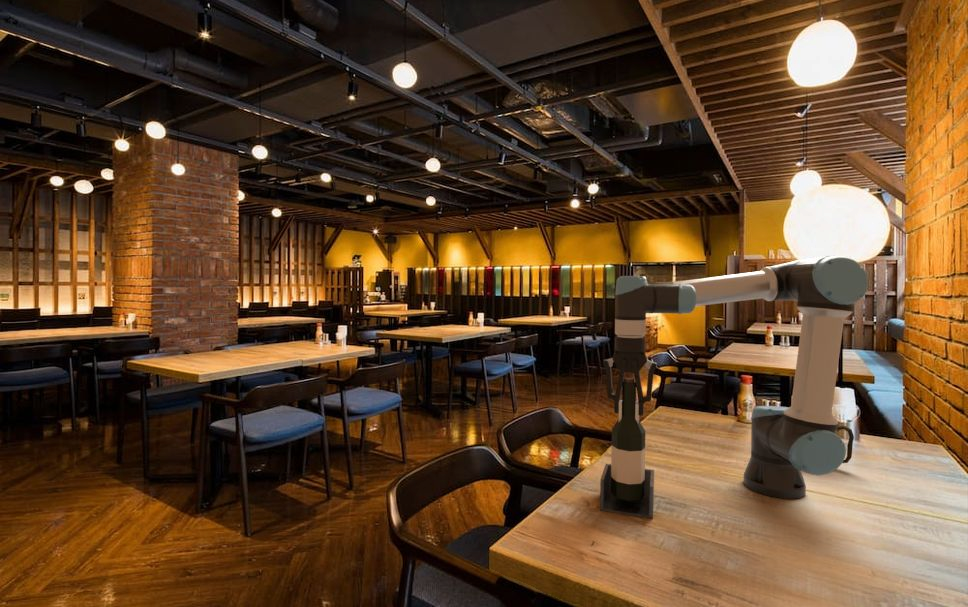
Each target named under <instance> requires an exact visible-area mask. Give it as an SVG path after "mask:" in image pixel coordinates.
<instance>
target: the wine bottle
mask: <svg viewBox="0 0 968 607" xmlns="http://www.w3.org/2000/svg"><path fill="white" fill-rule="evenodd" d="M621 397H622V398H621V400H622V419H621V420H620V421H619V418H618V419H617V420H616V422H615V423H614V425H613V427H612V428H611V455H610V456H611V462H610V464H611V493H612V494H613V495H614V496H615V497H616V498H620V499H624V500H628V501H634V500H641V499H642V498H643V496H644V484H645V469H646V430H645V428H644V426H643V424H642V423H641V421H640V420H639V421H638V423H637V421H636V419H635V403H636V401H637V389H636V383H635V378H634V377H624V380H623V384H622V390H621Z"/></svg>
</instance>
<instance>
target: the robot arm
mask: <svg viewBox="0 0 968 607" xmlns="http://www.w3.org/2000/svg"><path fill="white" fill-rule="evenodd" d="M868 288H869V277H868V274H867V272H866V270H865V268H864V267H863V266H862V265H861V264H860V263H859V261H856V260H855V259H853V258H851V257H848V256H843V255H842V256H839V255H838V256H837V255H827V256H821V257H813V258H802V259H798V260H793V261H790V262H785V263H781V264H776V265H772V266H764V267H762V268H761V269H760V270H759V271H752V272H743V273H736V274H727V275H720V276H718V275H717V276H710V277H704V278H703V277H702V278H695V279H688V280H687V279H686V280H680V281H679V280H678V281H671V282H662V283H655V284H654V283H648V280H647V277H646V276H644V275H621V276H619V277H618V278H617V279H616V284H615V293H614V295H615V319H614V334H615V335H616V336H615V337H614V353H613V356H612V357H611V358H606V359H603V362H602V364H603V367H604V369H605V379H606V380H605V382H606V393H607V394H606V397H607V398H608V399H611V400H612V401H613V402H614V406H613V407H614V409H613V411H614V414H617V415H618V419H619V421H620V420H621V419H622V399H621V396H622V384H623V381H624V378H625V375H626V374H627V373H631V374H633V378H634V382H635V383H636V396H637V400H638V401H637V400H636V403H635V419H636V421H637V423H638V421H640V417H641V416H643V415H644V407H645V406H644V404H645V403H647V402H648V403H649V402H651V400H652V393H653V382H654V374H655V370H656V369H657V366H658V363H657V362H656V361H652V360H649V359H648V357H647V355H646V338H645V337H644V336H645V335H646V334H647V332H646V330H647V328H646V326H647V325H646V324H647V314H678V315H681V314H691V313H692V312H693V311H694V310H695V308H696V307H698V306H699V307H700V306H708V305H709V306H710V305H716V304H727V303H734V302H742V301H744V302H745V301H751V300H759V299H763V300H765V301H766V302H772V301H773V302H775V301H790V302H791V301H792V302H796V309H797V310H798V311H799V312H800V313H801V315H802V319H801V324H800V325H801V326H800V332H799V333H800V335H799V341H798V342H799V343H798V349H797V350H798V351H797V355H796V356H797V357H796V364H795V373H794V380H793V388H792V395H791V396H792V397H791V403H790V404H791V405H790V406H789V407H787V406H778V405H777V406H775V405H758V406H755V407H753V409H752V410H751V418H750V420H751V428H750V429H751V430H750V431H751V432H750V433H751V438H750V439H751V441H750V442H751V443H750V458H749V461H748V462H747V463H748V464H747V466H746V468H745V470H744V472H743V479H742V480H743V484H744V486H745V487H746V488H748V489H750V490H752V491H754V492H756V493H758V494H762V495H765V496H769V497H772V498H780V499H790V500H791V499H800V498H803V497H805V496H806V492H807V489H806V488H807V486H806V482H805V478H804V476H803V473H802V472H804V473H806V474H809V475H814V476H824V475H829V474H831V473H832V472H833V471H835V470H838V469H839V467H840V466H842V464H844V463H843V461H844V460H845V459H846V456H847V448H846V447H847V446H846V444H845V443H844V441H843V440H842V438H841V437H840V436H839V435H838V434H837V432H838V431H837V427H838V426H839V422H838V420H837V419H836V418H835V417H834V416H833V414H832V413H833V407H834V399H835V392H836V384H837V376H838V367H839V359H840V354H841V345H842V338H843V331H844V330H843V329H844V324H845V323H844V322H845V319H846V318H848V317H849V316H850V315H852V314H853V313H854V305H855V303H857V302H859V301H860V300H861V298H863V297H864V296H865V295H866V293H867V291H868ZM613 364H615V366H616V367H617V368H618V369H619V373H618V379H617V384H616V389H615V393H614V392H613V391H614V387H613V371H612V367H613ZM645 365H646V369H647V370H648V372H647V373H648V374H647V384H646V394H645V396H644V393H643V386H642V385H643V384H642V381H641V380H642V379H641V374H640V371H641V370H642V368H643V367H644V366H645Z"/></svg>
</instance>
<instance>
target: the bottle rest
mask: <svg viewBox="0 0 968 607" xmlns="http://www.w3.org/2000/svg"><path fill="white" fill-rule="evenodd" d="M599 484H600V486H599V487H600V488H599V489H600V492H599V493H600V494H599V496H600V497H599V500H600V501H599V511H601V512H608V513H612V514H619V515H624V516H625V515H626V516H631V517H636V518H643V519H648V520H649V519H650V520H654V506H655V505H654V504H655V497H654V496H655V469H650V468H649V469H647V468H645V484H644V496H643V498H642V499H641V500H634V501H628V500H624V499H620V498H616V497H615V496H614V495H613V494H612V493H611V463H605V465H604V468H603V471H602V475H601V477H600V483H599Z"/></svg>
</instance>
